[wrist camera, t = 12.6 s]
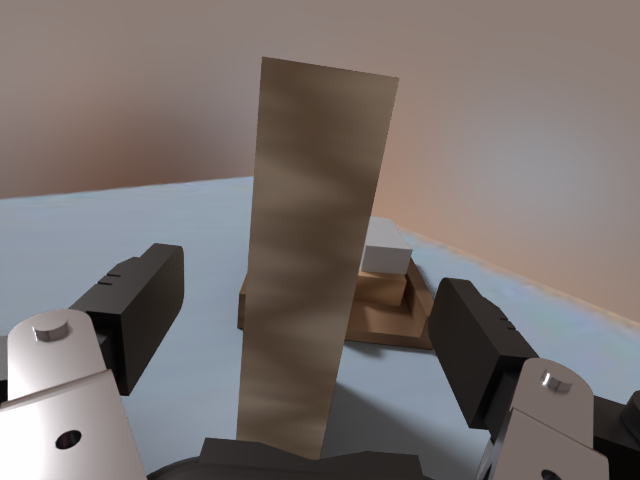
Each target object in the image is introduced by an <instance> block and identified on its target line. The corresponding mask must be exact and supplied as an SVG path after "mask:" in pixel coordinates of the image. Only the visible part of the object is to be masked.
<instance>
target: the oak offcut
mask: <svg viewBox="0 0 640 480" xmlns="http://www.w3.org/2000/svg"><path fill="white" fill-rule="evenodd" d="M406 282H407V281H406V279H405V276H404V274H392V273H380V272H368V271H361V270H360V268H359V273H358V278H357V283H356V287H355V292H354V297H353V301H359V302H368V303H376V304H384V305H393V306H400V304H401V300H402V297H403V293H404V289H405V286H406Z"/></svg>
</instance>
